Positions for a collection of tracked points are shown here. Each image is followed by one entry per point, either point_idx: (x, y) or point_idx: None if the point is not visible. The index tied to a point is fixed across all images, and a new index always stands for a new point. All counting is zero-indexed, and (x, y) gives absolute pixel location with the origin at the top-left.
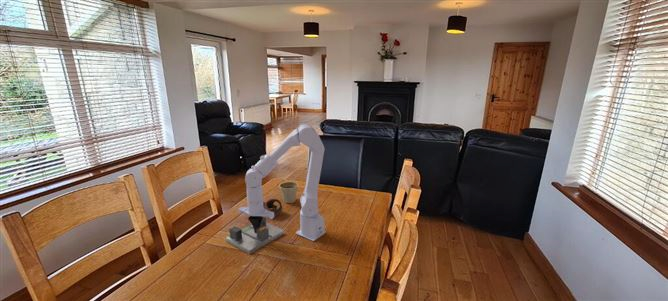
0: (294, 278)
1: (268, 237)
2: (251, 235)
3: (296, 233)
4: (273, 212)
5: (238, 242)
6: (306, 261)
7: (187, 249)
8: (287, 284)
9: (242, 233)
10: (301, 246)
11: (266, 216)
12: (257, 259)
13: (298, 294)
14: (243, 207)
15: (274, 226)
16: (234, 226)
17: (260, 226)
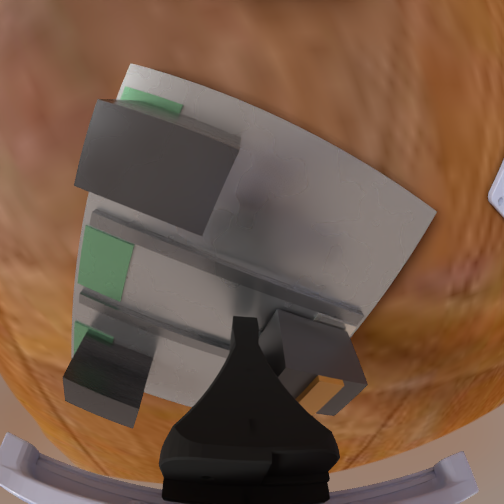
0: (438, 420)
1: (345, 335)
2: (206, 346)
3: (492, 204)
4: (472, 495)
5: (170, 392)
6: (484, 365)
7: (24, 387)
8: (420, 435)
9: (118, 318)
10: (492, 301)
11: (389, 494)
12: (318, 417)
13: (437, 437)
14: (17, 491)
15: (346, 157)
16: (63, 380)
17: (279, 374)
